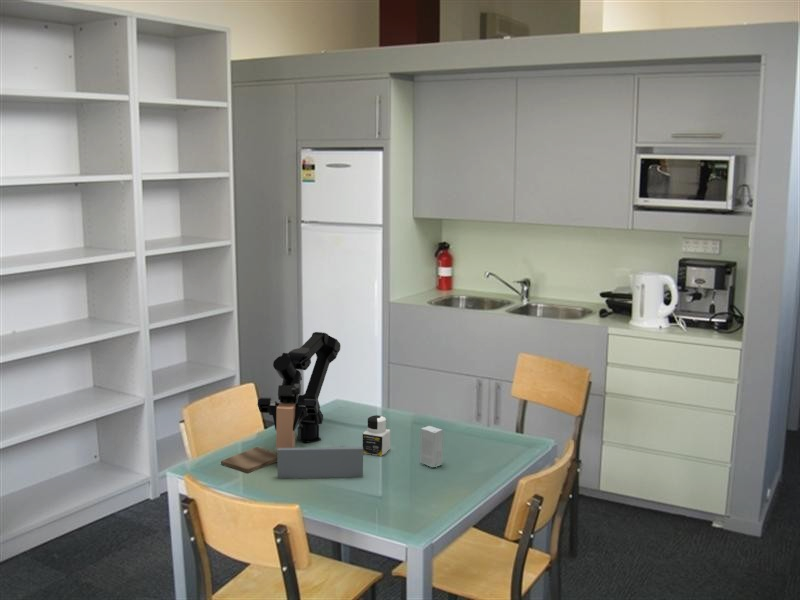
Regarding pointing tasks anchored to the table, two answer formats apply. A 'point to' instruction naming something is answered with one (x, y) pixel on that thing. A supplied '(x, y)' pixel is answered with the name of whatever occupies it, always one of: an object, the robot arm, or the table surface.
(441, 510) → the table surface
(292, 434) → the terracotta block
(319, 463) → the slate screen
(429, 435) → the skincare box
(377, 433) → the medicine bottle
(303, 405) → the robot arm
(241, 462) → the walnut board
